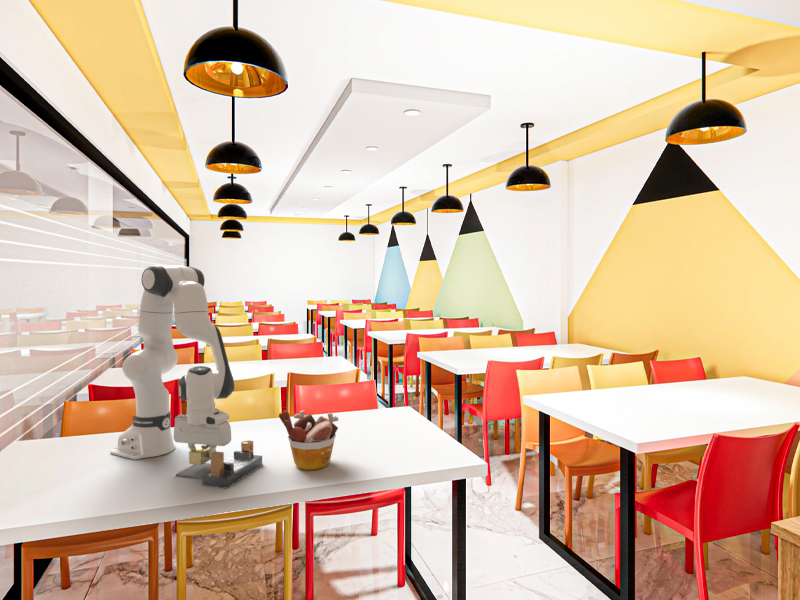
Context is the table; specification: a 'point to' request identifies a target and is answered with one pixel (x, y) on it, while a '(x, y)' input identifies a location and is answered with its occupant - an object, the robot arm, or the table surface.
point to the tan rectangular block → (199, 455)
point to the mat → (195, 471)
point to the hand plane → (231, 466)
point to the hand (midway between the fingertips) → (202, 456)
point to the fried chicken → (310, 439)
